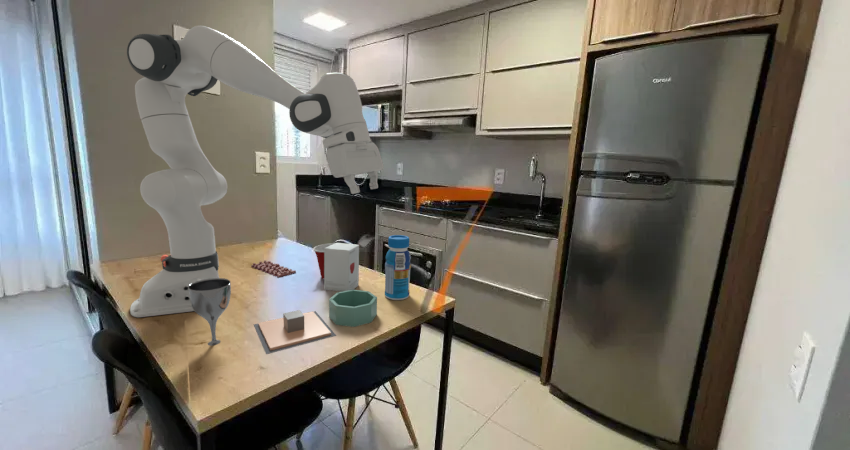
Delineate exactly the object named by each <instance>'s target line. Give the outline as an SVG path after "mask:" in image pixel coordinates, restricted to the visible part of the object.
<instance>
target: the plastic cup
mask: <svg viewBox="0 0 850 450" xmlns="http://www.w3.org/2000/svg"><path fill="white" fill-rule="evenodd" d="M335 243H336V242H332V243H330V242H329V243H323V244H319V245H315V246H314V247H313V248H312V249H313V251H314V252H315V256H316V259H317V264H318V269H319V273H320V277H321V279H323V280H324V248H326V247H328V246H330V245H333V244H335Z"/></svg>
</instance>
